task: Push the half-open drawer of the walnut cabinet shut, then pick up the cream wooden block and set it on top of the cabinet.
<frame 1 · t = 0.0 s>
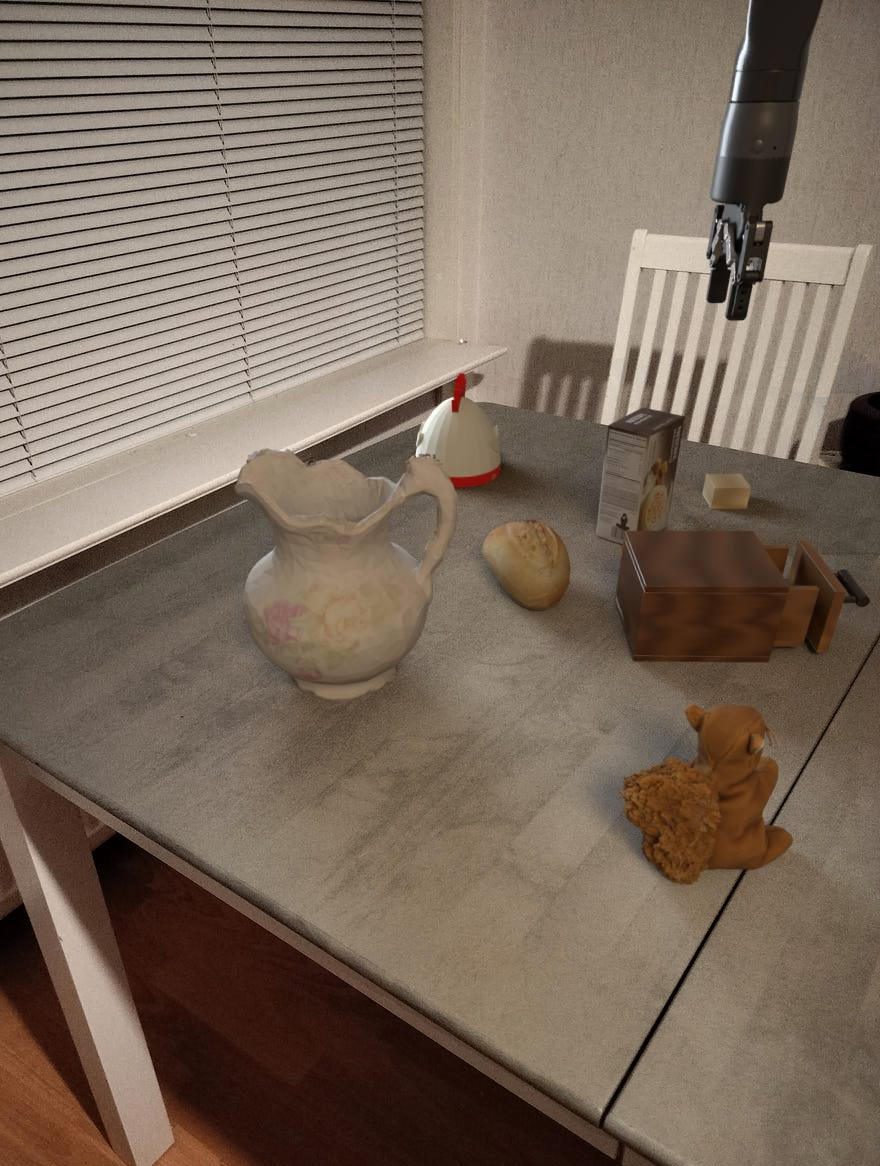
hand: (724, 310, 99), 30 cm above the table, tool pointing down, fingers open, 8 cm apart
white chicken egg cooker: (457, 470, 138), on the table
drawer: (775, 594, 95), point 5 cm above the table, slide at 5.0 cm
bread roll: (524, 586, 107), on the table
cabinet: (687, 630, 98), on the table
stuffed squirrel: (694, 848, 71), on the table
ceramic pitcher: (353, 669, 94), on the table
block: (721, 512, 123), on the table
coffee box: (631, 532, 119), on the table
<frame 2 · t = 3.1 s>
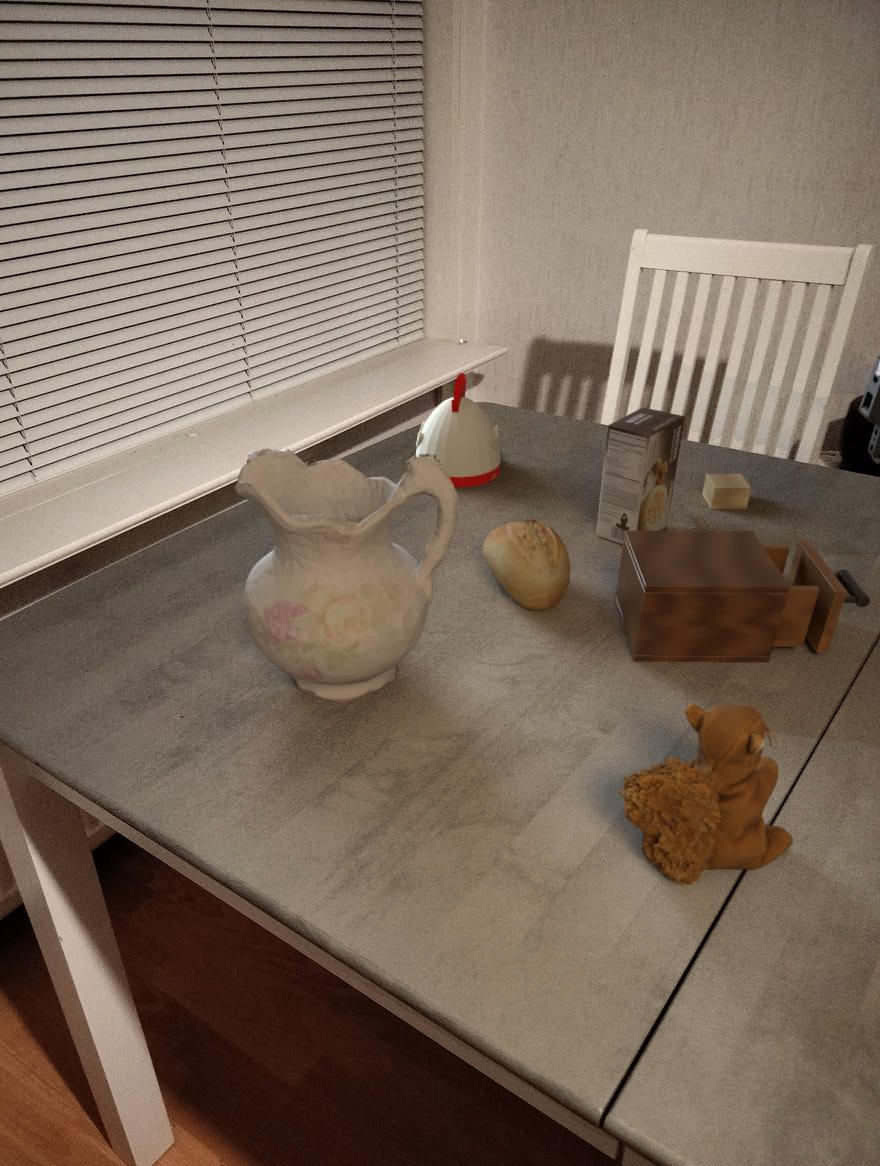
nothing on the table moved.
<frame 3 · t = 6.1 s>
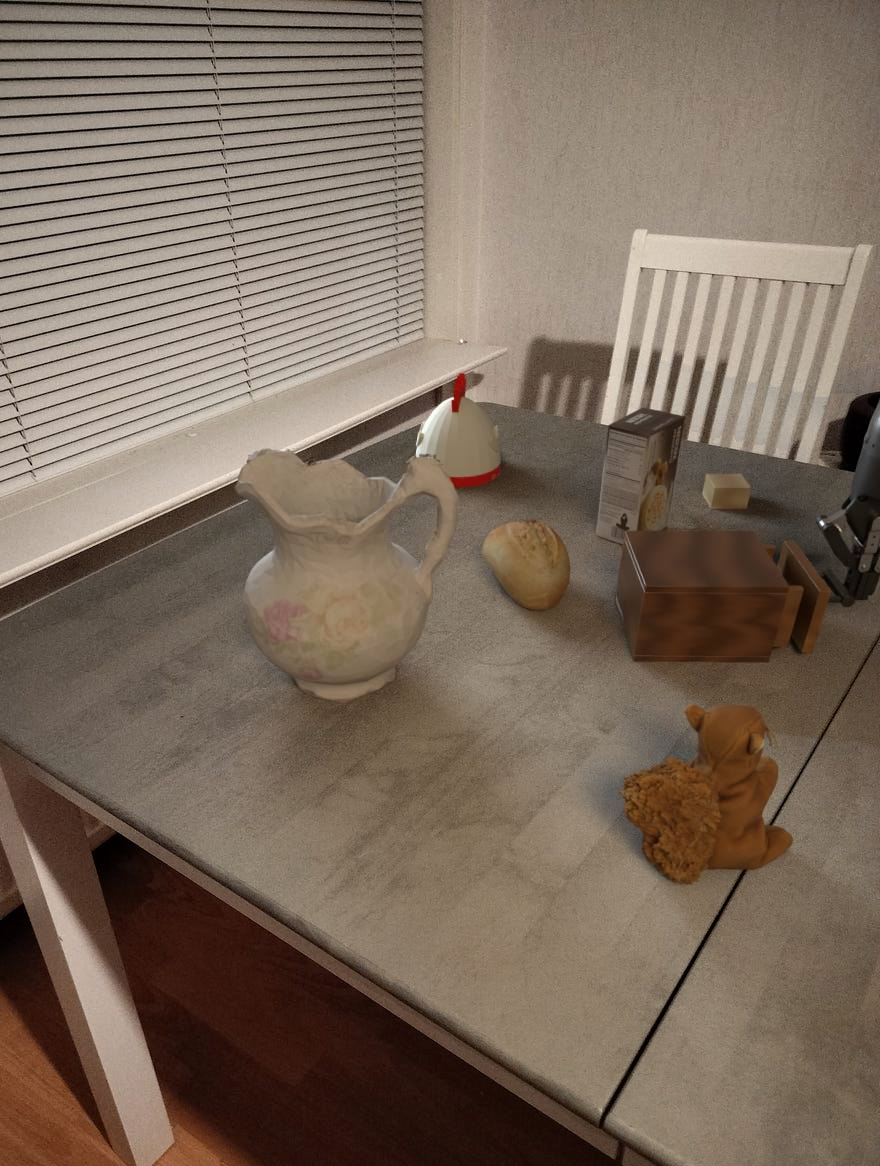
hand: (856, 596, 95), 5 cm above the table, tool pointing down, fingers closed
drawer: (760, 594, 95), point 5 cm above the table, slide at 3.4 cm
everything else where it was.
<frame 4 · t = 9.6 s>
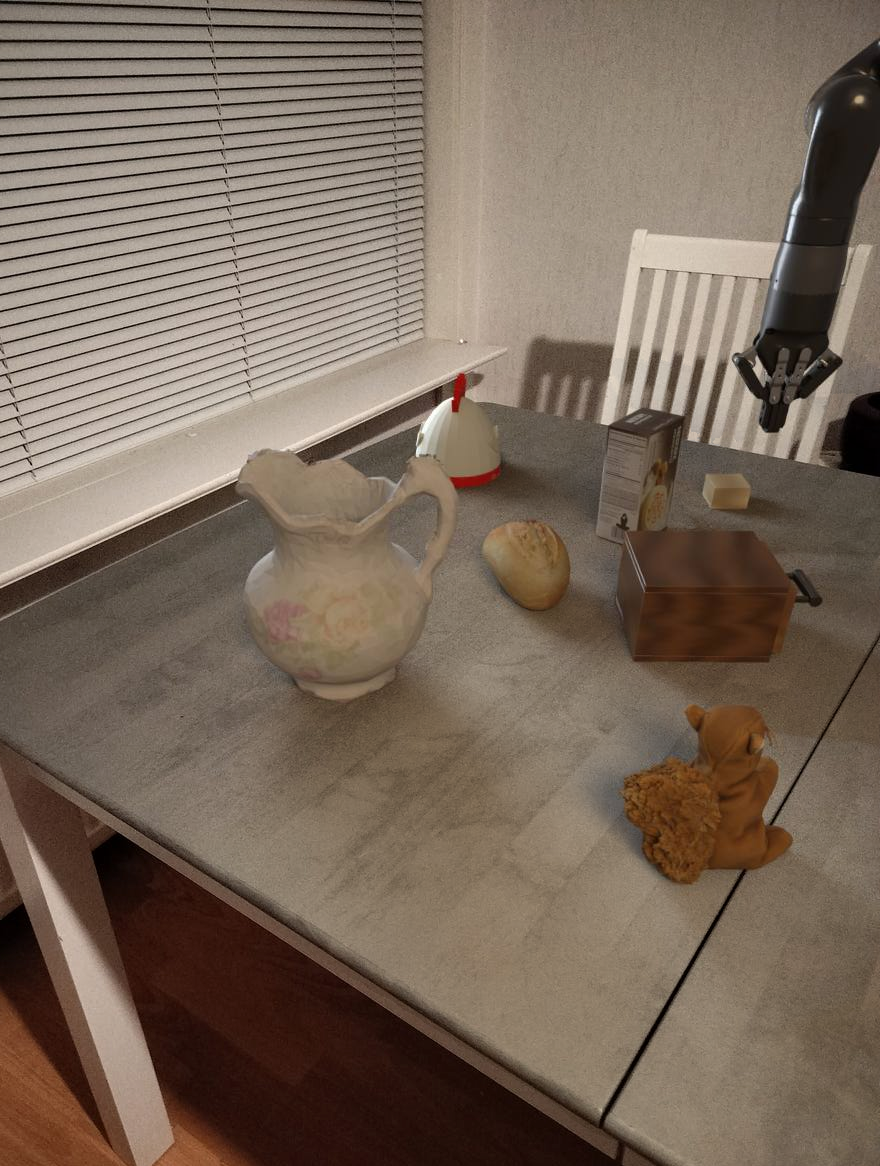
hand: (769, 430, 107), 16 cm above the table, tool pointing down, fingers closed
drawer: (729, 594, 95), point 5 cm above the table, slide at 0.0 cm, touching cabinet
everything else where it was.
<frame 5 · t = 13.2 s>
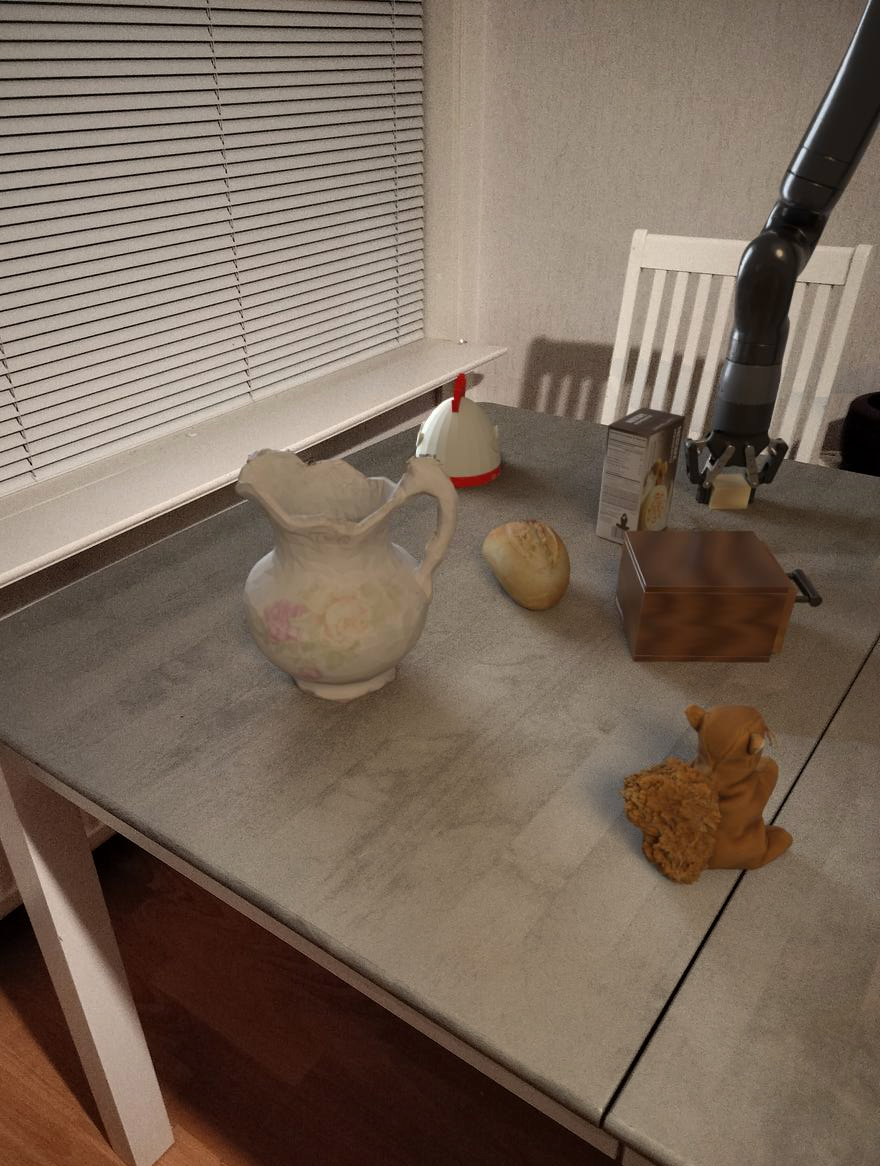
hand: (722, 508, 123), 1 cm above the table, tool pointing down, fingers closed on block, 5 cm apart
block: (721, 512, 123), on the table, touching gripper
everything else where it was.
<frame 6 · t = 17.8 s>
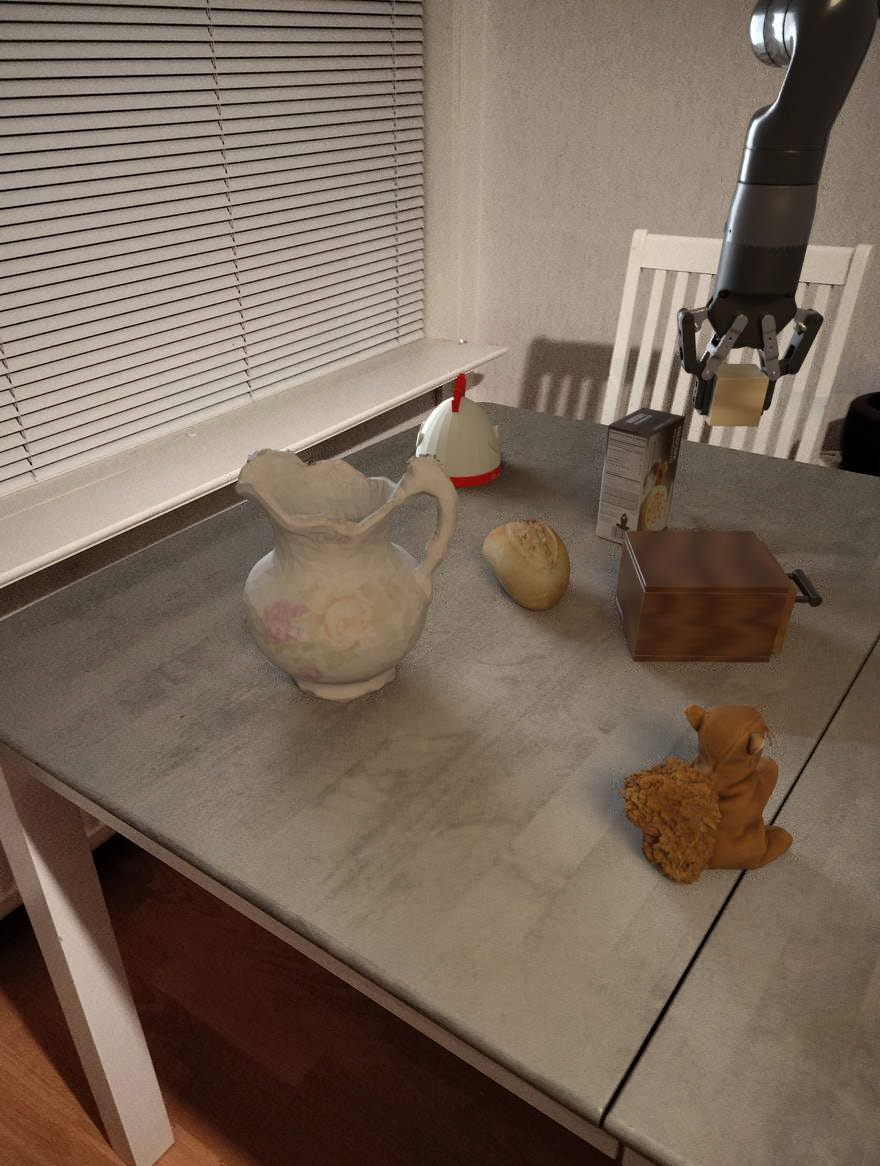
hand: (729, 412, 89), 24 cm above the table, tool pointing down, fingers closed on block, 5 cm apart
block: (727, 418, 90), point 23 cm above the table, touching gripper
everything else where it was.
when the fingers open (10 cm above the table, at t = 22.4 s): block stays where it is, resting on cabinet.
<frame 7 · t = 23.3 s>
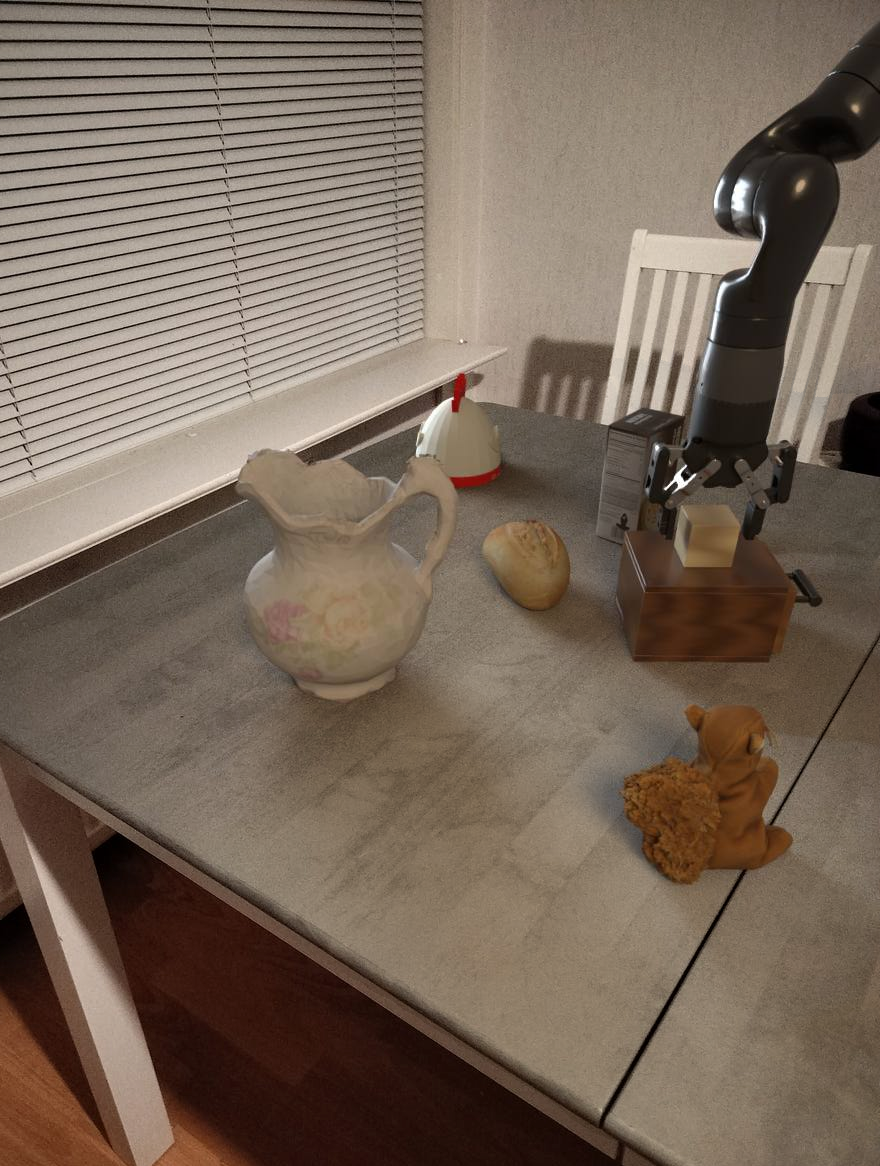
hand: (706, 536, 91), 12 cm above the table, tool pointing down, fingers open, 8 cm apart
block: (701, 556, 93), point 10 cm above the table, touching cabinet
everything else where it was.
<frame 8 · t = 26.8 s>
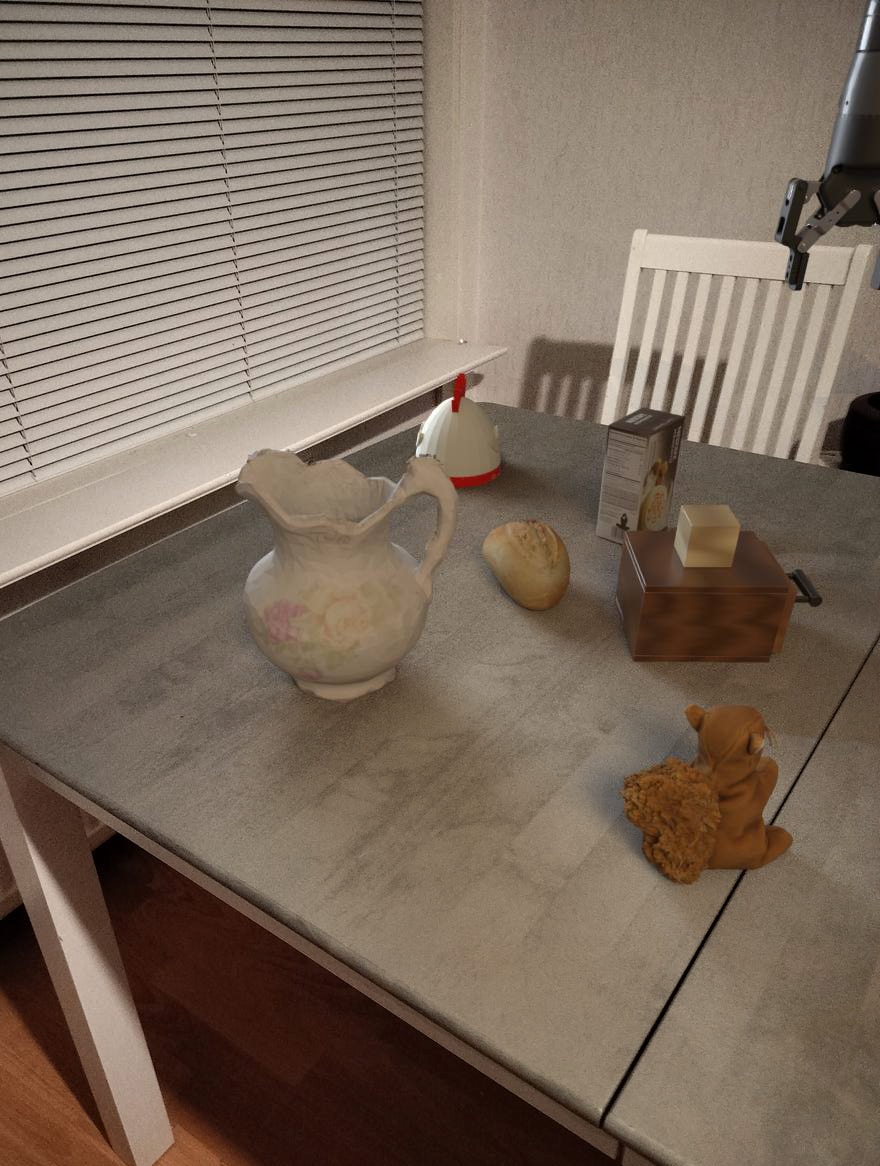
hand: (835, 289, 90), 34 cm above the table, tool pointing down, fingers open, 8 cm apart
nothing on the table moved.
at the end: drawer slide at 0.0 cm; block inside the target area on the cabinet (0.1 cm from its centre), point 9.6 cm above the cabinet's base; block tilted 0° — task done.
